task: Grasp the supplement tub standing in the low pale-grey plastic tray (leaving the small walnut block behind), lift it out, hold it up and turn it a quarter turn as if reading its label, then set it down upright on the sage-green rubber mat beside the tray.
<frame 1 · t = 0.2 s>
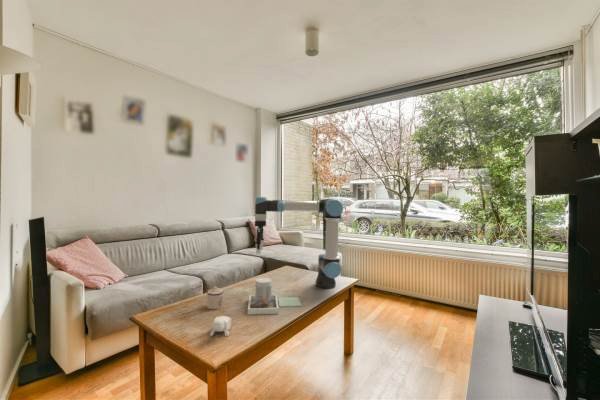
hand: (259, 252, 183), 28 cm above the table, fingers open, 13 cm apart
walnut block: (263, 310, 156), resting in parts tray
parts tray: (263, 306, 162), on the table
supplement tub: (263, 304, 165), resting in parts tray
teacup with lid: (215, 305, 161), on the table
white animal figurine: (220, 333, 130), on the table
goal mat: (289, 302, 169), on the table
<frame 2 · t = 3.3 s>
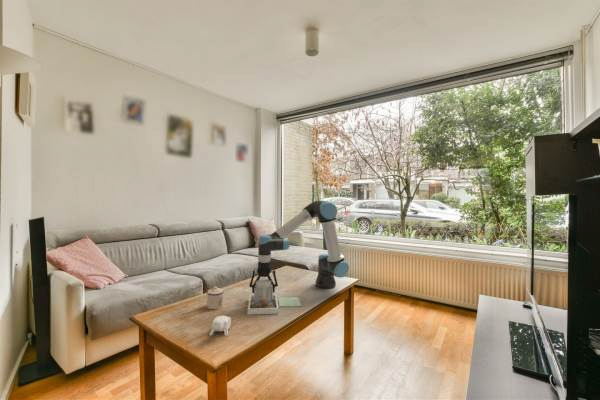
hand: (263, 298, 165), 4 cm above the table, fingers closed on supplement tub, 10 cm apart
supplement tub: (263, 304, 165), resting in parts tray, touching gripper
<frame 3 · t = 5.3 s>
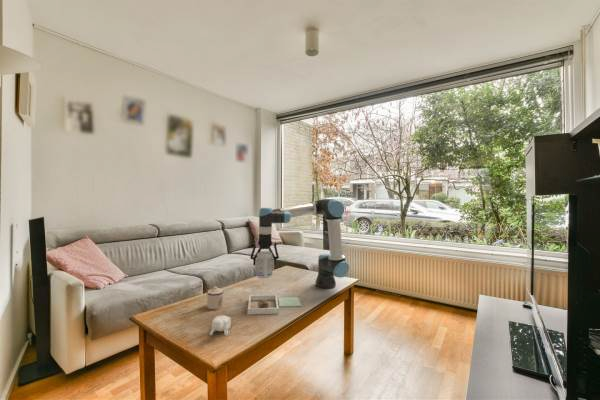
hand: (264, 270, 165), 20 cm above the table, fingers closed on supplement tub, 10 cm apart
supplement tub: (264, 276, 165), point 17 cm above the table, touching gripper
everything else where it was.
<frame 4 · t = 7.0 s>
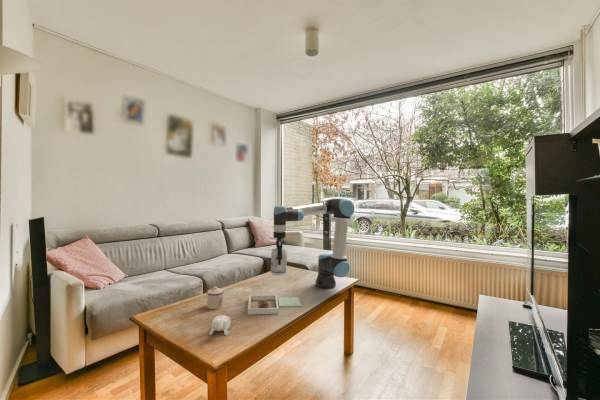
hand: (278, 267, 169), 21 cm above the table, fingers closed on supplement tub, 10 cm apart
supplement tub: (278, 273, 169), point 18 cm above the table, touching gripper
everything else where it was.
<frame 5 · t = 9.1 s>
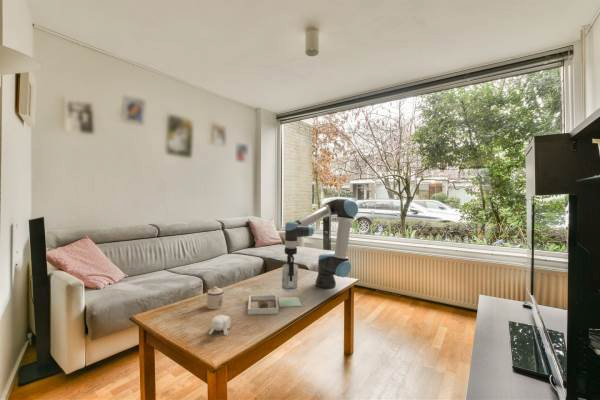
hand: (289, 283, 169), 12 cm above the table, fingers closed on supplement tub, 10 cm apart
supplement tub: (289, 289, 169), point 8 cm above the table, touching gripper
when the fingers open (6 cm above the table, at t = 10.9 s): supplement tub stays where it is, resting on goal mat.
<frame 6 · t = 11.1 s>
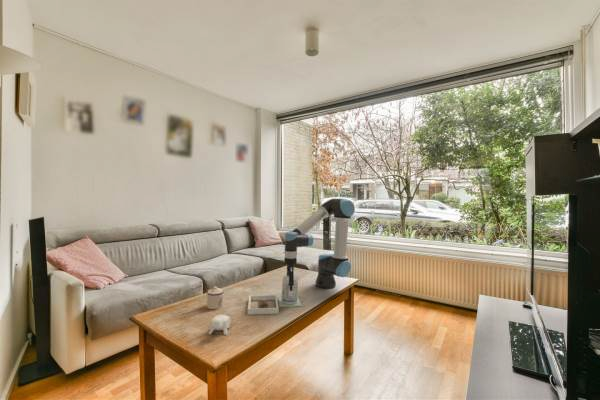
hand: (289, 291, 169), 7 cm above the table, fingers open, 13 cm apart
supplement tub: (289, 302, 169), resting on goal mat
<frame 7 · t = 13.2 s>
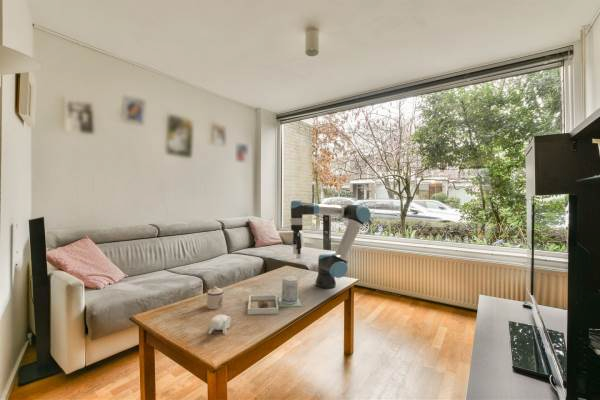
hand: (296, 256, 180), 26 cm above the table, fingers open, 13 cm apart
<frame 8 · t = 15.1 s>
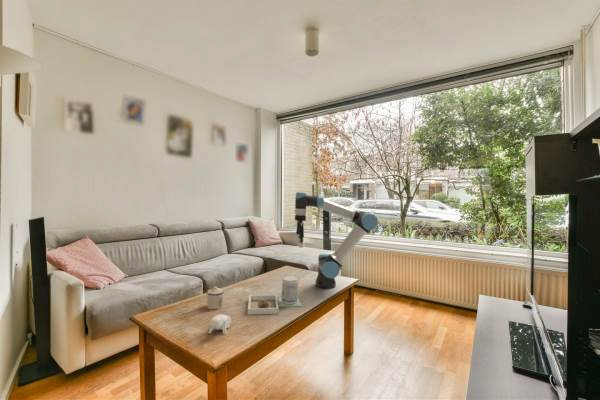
hand: (299, 245, 188), 32 cm above the table, fingers open, 13 cm apart
at the end: supplement tub inside the target area on the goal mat (0.3 cm from its centre), point 0.4 cm above the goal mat's base; supplement tub tilted 0°; the gripper is holding nothing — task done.
